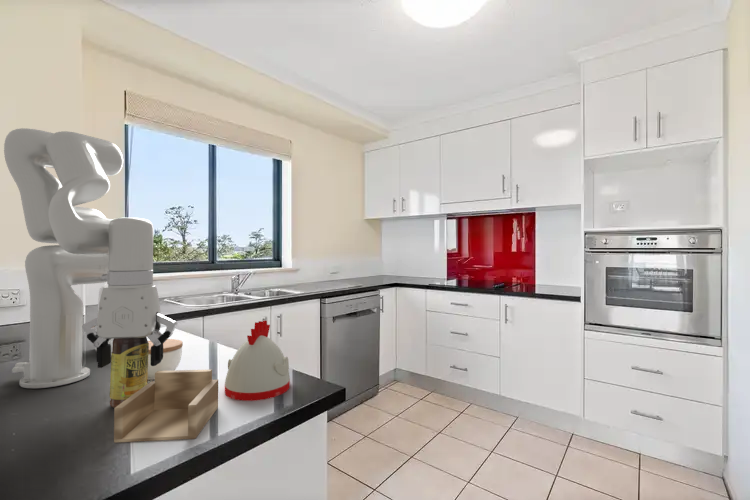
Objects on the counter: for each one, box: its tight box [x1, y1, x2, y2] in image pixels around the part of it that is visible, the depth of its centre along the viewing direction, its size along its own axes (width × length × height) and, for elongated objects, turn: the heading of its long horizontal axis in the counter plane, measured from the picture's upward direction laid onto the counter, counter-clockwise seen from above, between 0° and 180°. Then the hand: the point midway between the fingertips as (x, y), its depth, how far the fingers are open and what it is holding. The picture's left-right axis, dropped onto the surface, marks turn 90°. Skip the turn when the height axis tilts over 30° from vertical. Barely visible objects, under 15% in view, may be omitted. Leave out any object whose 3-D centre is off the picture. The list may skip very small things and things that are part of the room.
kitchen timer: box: [224, 320, 291, 402], centre depth 83 cm, size 14×14×15 cm
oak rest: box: [113, 369, 219, 444], centre depth 66 cm, size 12×12×8 cm
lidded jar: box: [147, 338, 183, 381], centre depth 91 cm, size 11×11×9 cm
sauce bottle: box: [109, 337, 149, 408], centre depth 74 cm, size 6×6×20 cm
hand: (130, 365), depth 74 cm, fingers open, 9 cm apart
